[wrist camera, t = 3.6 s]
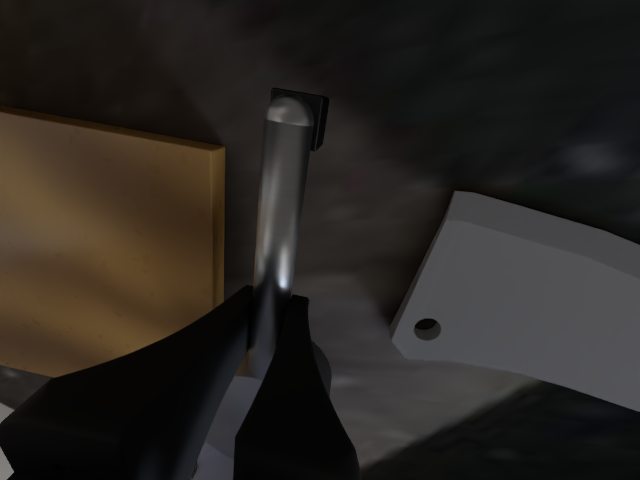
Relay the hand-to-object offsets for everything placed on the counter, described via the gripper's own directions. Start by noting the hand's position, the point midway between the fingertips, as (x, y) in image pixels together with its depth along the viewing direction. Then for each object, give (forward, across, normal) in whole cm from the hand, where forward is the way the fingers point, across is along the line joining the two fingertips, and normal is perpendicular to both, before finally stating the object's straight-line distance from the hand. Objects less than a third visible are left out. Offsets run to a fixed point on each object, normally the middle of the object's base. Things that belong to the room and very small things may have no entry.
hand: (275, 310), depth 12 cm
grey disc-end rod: (+2, 0, 0) cm, 2 cm away
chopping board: (+4, +14, +3) cm, 15 cm away
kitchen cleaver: (+4, -18, +1) cm, 19 cm away
